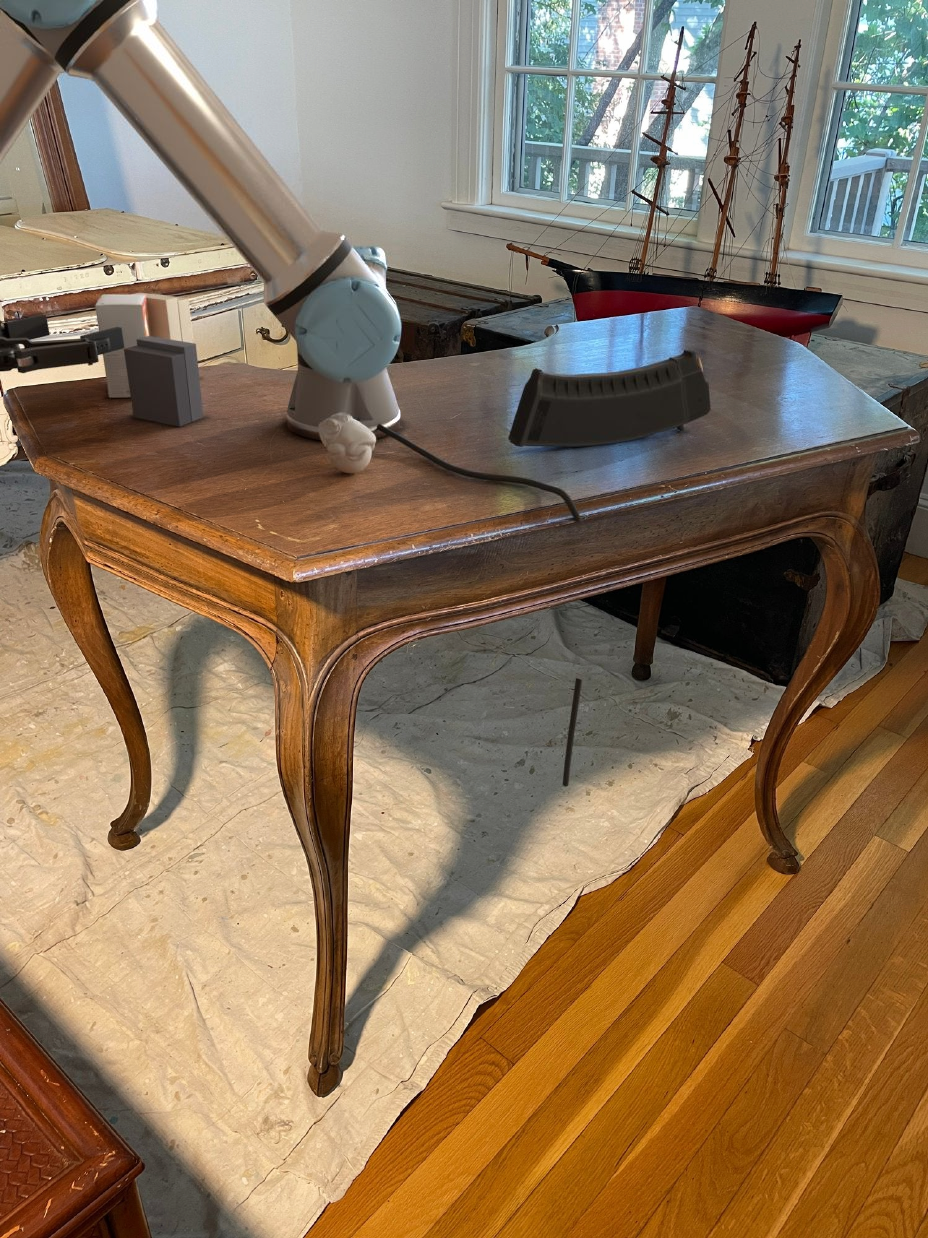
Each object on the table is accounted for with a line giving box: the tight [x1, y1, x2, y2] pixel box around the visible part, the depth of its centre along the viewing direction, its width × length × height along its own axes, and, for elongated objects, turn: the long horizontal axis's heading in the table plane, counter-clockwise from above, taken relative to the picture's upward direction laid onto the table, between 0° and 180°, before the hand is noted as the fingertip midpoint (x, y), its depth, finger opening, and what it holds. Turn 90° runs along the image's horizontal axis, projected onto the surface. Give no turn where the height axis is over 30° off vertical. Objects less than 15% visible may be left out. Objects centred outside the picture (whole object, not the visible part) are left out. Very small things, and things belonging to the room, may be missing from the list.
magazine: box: [507, 348, 712, 448], centre depth 121 cm, size 17×3×30 cm
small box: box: [95, 293, 151, 399], centre depth 133 cm, size 8×6×13 cm
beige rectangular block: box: [130, 292, 194, 343], centre depth 139 cm, size 7×5×12 cm
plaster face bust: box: [318, 413, 377, 474], centre depth 108 cm, size 6×7×7 cm
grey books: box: [124, 336, 205, 427], centre depth 123 cm, size 8×5×10 cm, turn 65°
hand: (83, 330), depth 125 cm, fingers open, 13 cm apart
